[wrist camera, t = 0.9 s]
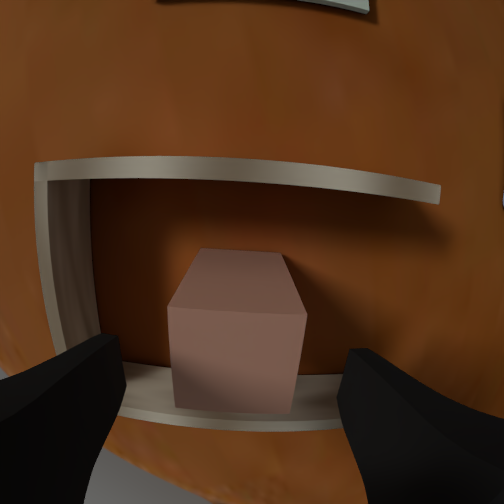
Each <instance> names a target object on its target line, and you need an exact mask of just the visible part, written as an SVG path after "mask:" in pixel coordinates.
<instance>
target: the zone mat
mask: <svg viewBox="0 0 504 504" xmlns="http://www.w3.org/2000/svg"><path fill="white" fill-rule="evenodd" d="M299 1H306V2H312V3H318V4H324V5H329V6H334V7H338V8H343V9H347V10H352V11H356V12H360V13H363V14H367V13H368V12H369V1H368V0H299Z"/></svg>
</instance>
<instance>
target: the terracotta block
mask: <svg viewBox="0 0 504 504" xmlns="http://www.w3.org/2000/svg"><path fill="white" fill-rule="evenodd" d="M167 310H168V330H169V345H170V359H171V371H172V382H173V392H174V401H175V408H183V409H192V410H203V411H214V412H229V413H252V414H290V409H291V404H292V399H293V394H294V389H295V384H296V379H297V373H298V368H299V362H300V357H301V351H302V345H303V339H304V333H305V327H306V321H307V313H306V310H305V308H304V306H303V303H302V301H301V299H300V296H299V294H298V292H297V289H296V287H295V285H294V282H293V280H292V278H291V275H290V273H289V271H288V269H287V266H286V264H285V262H284V259H283V257H282V255H281V253H275V252H258V251H241V250H225V249H208V248H200V250H199V252H198V254H197V255H196V257H195V259H194V260H193V262H192V264H191V266H190V267H189V269H188V271H187V273H186V274H185V276H184V278H183V280H182V281H181V283H180V285H179V287H178V288H177V290H176V292H175V294H174V296H173V297H172V299H171V301H170V303H169V305H168V306H167Z"/></svg>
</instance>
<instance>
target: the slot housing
mask: <svg viewBox="0 0 504 504" xmlns="http://www.w3.org/2000/svg"><path fill="white" fill-rule="evenodd" d="M99 178H175V179H207V180H228V181H245V182H260V183H274V184H286V185H297V186H308V187H318V188H327V189H336V190H345V191H353V192H361V193H369V194H376V195H383V196H390V197H397V198H403V199H410V200H416V201H422V202H428V203H434V204H439V200H440V191H441V185H436V184H431V183H427V182H422V181H417V180H411V179H406V178H401V177H395V176H390V175H384V174H378V173H371V172H365V171H358V170H351V169H344V168H337V167H329V166H320V165H312V164H302V163H292V162H282V161H270V160H256V159H241V158H222V157H192V156H132V157H104V158H85V159H71V160H59V161H48V162H38V163H35V167H34V210H35V230H36V243H37V253H38V262H39V270H40V278H41V284H42V291H43V297H44V302H45V308H46V313H47V318H48V322H49V327H50V331H51V336H52V340H53V344H54V348H55V351H56V355H59V354H61V353H63V352H65V351H67V350H69V349H70V348H72V347H74V346H76V345H78V344H80V343H82V342H84V341H85V340H87V339H89V338H91V337H94V336H96V335H98V334H101V331H100V325H99V318H98V311H97V303H96V295H95V287H94V277H93V265H92V252H91V232H90V179H99ZM122 362H123V368H124V374H125V379H126V384H127V387H126V391H125V394H124V397H123V401H122V404H121V407H120V410H119V412H118V415H120V416H124V417H129V418H134V419H140V420H145V421H151V422H157V423H164V424H171V425H178V426H187V427H196V428H206V429H219V430H235V431H308V430H325V429H337V428H343V425H342V422H341V417H340V413H339V408H338V403H337V398H336V397H337V393H338V390H339V387H340V383H341V379H342V376H343V374H330V375H297V379H296V384H295V389H294V394H293V399H292V404H291V409H290V414H252V413H229V412H214V411H203V410H192V409H183V408H175V401H174V392H173V382H172V371H171V368H167V367H159V366H151V365H144V364H137V363H131V362H125V361H122Z"/></svg>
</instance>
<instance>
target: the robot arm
mask: <svg viewBox="0 0 504 504" xmlns="http://www.w3.org/2000/svg"><path fill="white" fill-rule="evenodd" d="M503 207H504V195H503ZM126 387H127V384H126V379H125V374H124V368H123V362H122V357H121V351H120V344H119V337H118V336H117V335H110V334H104V333H101V334H98V335H96V336H94V337H91V338H89V339H87V340H85V341H84V342H82V343H80V344H78V345H76V346H74V347H72V348H70V349H69V350H67V351H65V352H63V353H61V354H59V355H57V356H55V357H53V358H51V359H49V360H47V361H45V362H43V363H41V364H39V365H37V366H35V367H32V368H30V369H28V370H26V371H24V372H21V373H19V374H16V375H13V376H11V377H8V378H5V379H2V380H0V504H84V499H85V494H86V491H87V487H88V484H89V480H90V476H91V473H92V470H93V467H94V465H95V462H96V460H97V458H98V455H99V453H100V451H101V449H102V447H103V445H104V442H105V440H106V438H107V436H108V434H109V432H110V430H111V428H112V425H113V423H114V421H115V419H116V417H117V415H118V412H119V410H120V407H121V404H122V401H123V397H124V394H125V391H126ZM336 398H337V403H338V408H339V413H340V417H341V422H342V425H343V428H344V430H345V433H346V436H347V438H348V441H349V444H350V446H351V449H352V452H353V454H354V457H355V460H356V462H357V465H358V468H359V470H360V473H361V476H362V479H363V482H364V486H365V490H366V495H367V499H368V504H504V419H502V418H498V417H495V416H492V415H489V414H486V413H482V412H479V411H477V410H474V409H471V408H469V407H467V406H464V405H462V404H460V403H458V402H455V401H453V400H451V399H449V398H447V397H445V396H443V395H441V394H440V393H438V392H436V391H434V390H432V389H431V388H429V387H427V386H425V385H424V384H422V383H421V382H419V381H417V380H416V379H414V378H413V377H411V376H410V375H408V374H406V373H405V372H403V371H402V370H400V369H399V368H397V367H396V366H394V365H393V364H392V363H390V362H389V361H387V360H386V359H384V358H383V357H381V356H379V355H378V354H376V353H375V352H373V351H371V350H369V349H368V348H360V349H349V353H348V357H347V361H346V365H345V369H344V372H343V376H342V379H341V383H340V387H339V390H338V393H337V397H336Z"/></svg>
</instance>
